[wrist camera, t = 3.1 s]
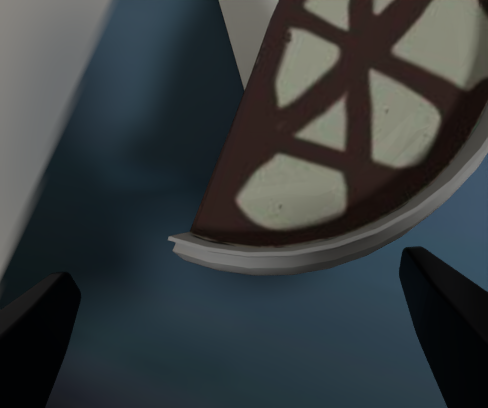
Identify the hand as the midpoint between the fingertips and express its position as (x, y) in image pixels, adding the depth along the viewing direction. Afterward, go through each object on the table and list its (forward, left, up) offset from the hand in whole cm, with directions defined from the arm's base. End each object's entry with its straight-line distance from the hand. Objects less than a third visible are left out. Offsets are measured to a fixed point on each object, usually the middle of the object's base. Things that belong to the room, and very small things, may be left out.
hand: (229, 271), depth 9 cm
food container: (+4, -5, -8) cm, 10 cm away
